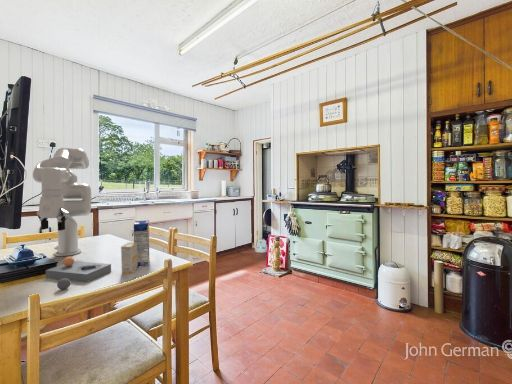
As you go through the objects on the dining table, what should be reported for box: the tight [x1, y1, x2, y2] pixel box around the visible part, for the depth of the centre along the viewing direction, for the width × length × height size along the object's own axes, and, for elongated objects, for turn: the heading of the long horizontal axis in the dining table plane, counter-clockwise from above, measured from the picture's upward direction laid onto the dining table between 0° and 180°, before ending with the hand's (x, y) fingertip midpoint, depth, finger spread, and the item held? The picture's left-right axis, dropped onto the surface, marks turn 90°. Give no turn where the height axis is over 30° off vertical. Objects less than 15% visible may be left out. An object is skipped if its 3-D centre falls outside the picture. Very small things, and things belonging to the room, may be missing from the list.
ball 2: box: [56, 278, 72, 290], centre depth 107 cm, size 4×4×4 cm
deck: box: [45, 260, 112, 283], centre depth 123 cm, size 22×14×4 cm, turn 78°
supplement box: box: [120, 241, 139, 274], centre depth 129 cm, size 8×5×13 cm, turn 5°
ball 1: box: [62, 256, 75, 266], centre depth 124 cm, size 4×4×4 cm
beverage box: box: [133, 220, 150, 268], centre depth 139 cm, size 7×11×22 cm, turn 21°
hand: (53, 229), depth 126 cm, fingers open, 9 cm apart
